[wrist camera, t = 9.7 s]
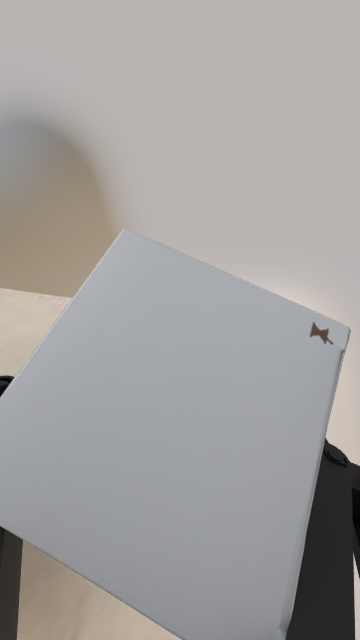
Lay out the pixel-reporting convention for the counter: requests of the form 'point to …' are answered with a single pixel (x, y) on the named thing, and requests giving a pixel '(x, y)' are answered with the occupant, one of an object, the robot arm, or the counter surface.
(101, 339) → the supplement box
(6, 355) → the counter surface
